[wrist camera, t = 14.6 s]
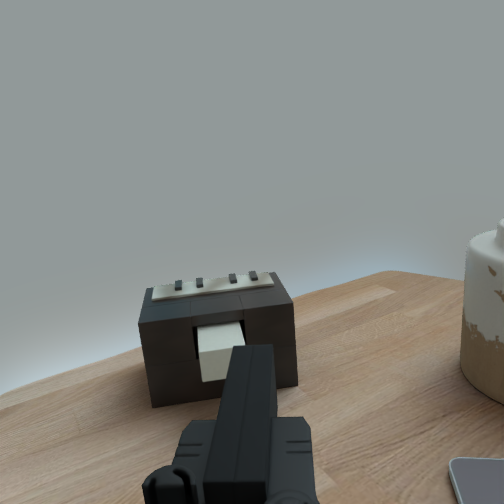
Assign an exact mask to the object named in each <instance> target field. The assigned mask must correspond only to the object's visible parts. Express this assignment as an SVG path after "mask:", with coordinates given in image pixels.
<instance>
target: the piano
mask: <svg viewBox="0 0 504 504" xmlns="http://www.w3.org/2000/svg"><path fill="white" fill-rule="evenodd" d="M237 320H239V323H240V327H241V330H242V334H243V338H244V342H245V345H264V344H273V354H274V367H275V380H276V389H278V388H284V387H291V386H297V385H298V372H297V356H296V340H295V323H294V307H293V301H292V300H291V298H290V296H289V295H288V293H287V291H286V290H285V288H284V286H283V285H282V283H281V281H280V280H279V278H278V276H277V275H276V273H275V272H273V273H268V272H264V273H256V272H255V271H251V272H249V274H248V275H240V276H236V275H235V274H229V277H225V278H217V279H209V280H203V278H196V281H193V282H185V283H182V280H178V281H175V284H169V285H161V286H154V287H153V288H147V289H146V293H145V297H144V301H143V305H142V309H141V313H140V317H139V321H138V327H139V333H140V338H141V344H142V350H143V356H144V362H145V368H146V373H147V379H148V385H149V391H150V397H151V402H152V408H156V407H162V406H169V405H175V404H181V403H188V402H194V401H201V400H207V399H214V398H220V397H222V393H223V389H224V384H225V380H226V379H219V380H213V381H206V382H203V381H202V374H201V367H200V359H199V350H198V331H197V326H201V325H208V324H215V323H222V322H230V321H237Z"/></svg>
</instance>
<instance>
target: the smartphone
mask: <svg viewBox="0 0 504 504" xmlns="http://www.w3.org/2000/svg"><path fill="white" fill-rule="evenodd" d="M449 475H450V479H451V482H452V485H453V488H454V491H455V494H456V497H457V500H458V503H459V504H504V459H494V458H471V457H456V458H453V459H452V460H451V461H450V462H449Z"/></svg>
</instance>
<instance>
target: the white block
mask: <svg viewBox="0 0 504 504" xmlns="http://www.w3.org/2000/svg"><path fill="white" fill-rule="evenodd" d="M197 331H198V350H199V359H200V367H201V374H202V381H203V382H206V381H213V380H219V379H226V375H227V371H228V367H229V362H230V358H231V353H232V349H233V346H238V345H245V342H244V338H243V334H242V330H241V327H240V323H239V320H237V321H230V322H222V323H215V324H208V325H201V326H197Z"/></svg>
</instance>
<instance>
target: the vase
mask: <svg viewBox="0 0 504 504" xmlns="http://www.w3.org/2000/svg"><path fill="white" fill-rule="evenodd" d="M460 363H461V368H462V371H463V373H464V375H465V377H466V378H467V379H468V381H469V382H470V383H471V384H472V385H473V386H474V387H476V388H477V389H478V390H479V391H481V392H482V393H484V394H485V395H487V396H488V397H490V398H492V399H494V400H496V401H498V402H500V403H502V404H504V218H502V219H501V220H500V221H499V222H498V227H497V229H496V230H491V231H487V232H484V233H481V234H478V235H476V236H474V237H473V238H472V239H471V240H470V241H469V243H468V246H467V251H466V264H465V280H464V298H463V315H462V333H461V350H460Z"/></svg>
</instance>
